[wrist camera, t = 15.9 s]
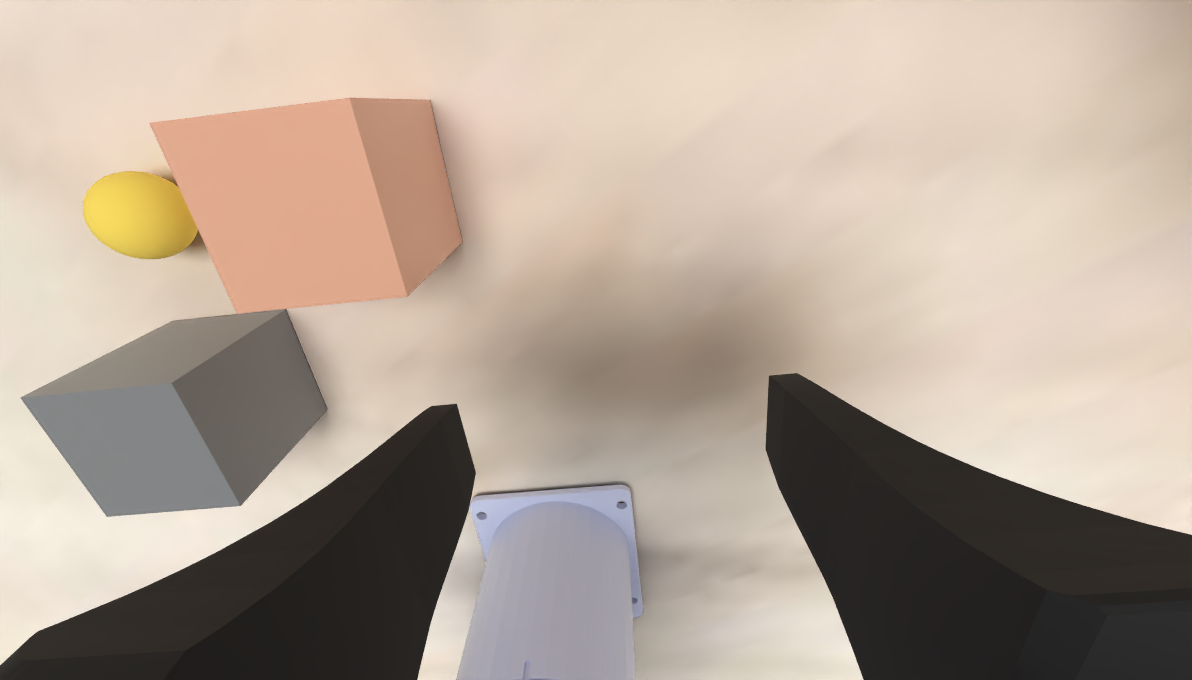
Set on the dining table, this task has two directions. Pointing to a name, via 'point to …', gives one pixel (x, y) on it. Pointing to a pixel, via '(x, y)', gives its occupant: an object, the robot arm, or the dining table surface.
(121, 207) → the ball
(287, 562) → the robot arm
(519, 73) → the dining table surface
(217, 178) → the cover
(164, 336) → the cover
